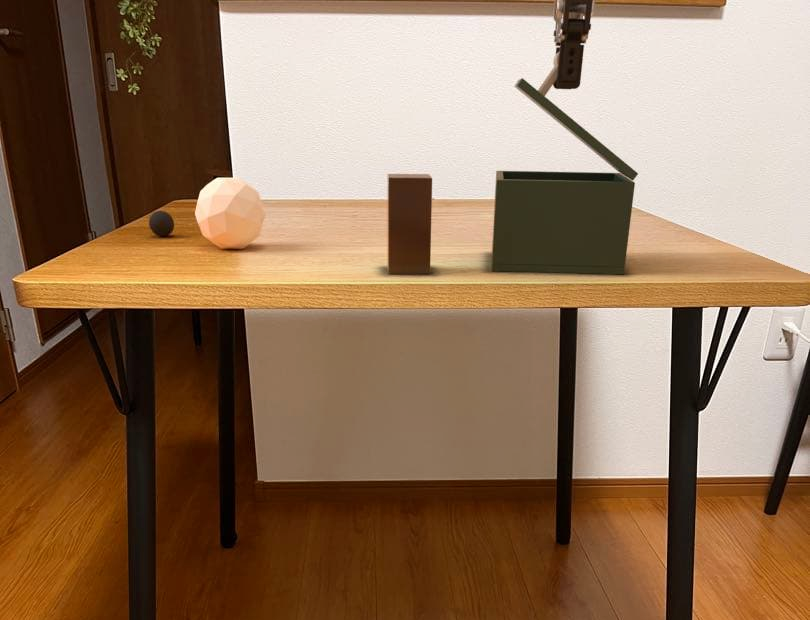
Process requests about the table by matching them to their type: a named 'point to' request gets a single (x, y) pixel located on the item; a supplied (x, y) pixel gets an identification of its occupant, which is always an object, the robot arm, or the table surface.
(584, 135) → the bin lid
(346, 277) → the table surface
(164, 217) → the marker ball
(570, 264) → the bin
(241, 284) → the table surface
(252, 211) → the geometric ball
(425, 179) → the block
